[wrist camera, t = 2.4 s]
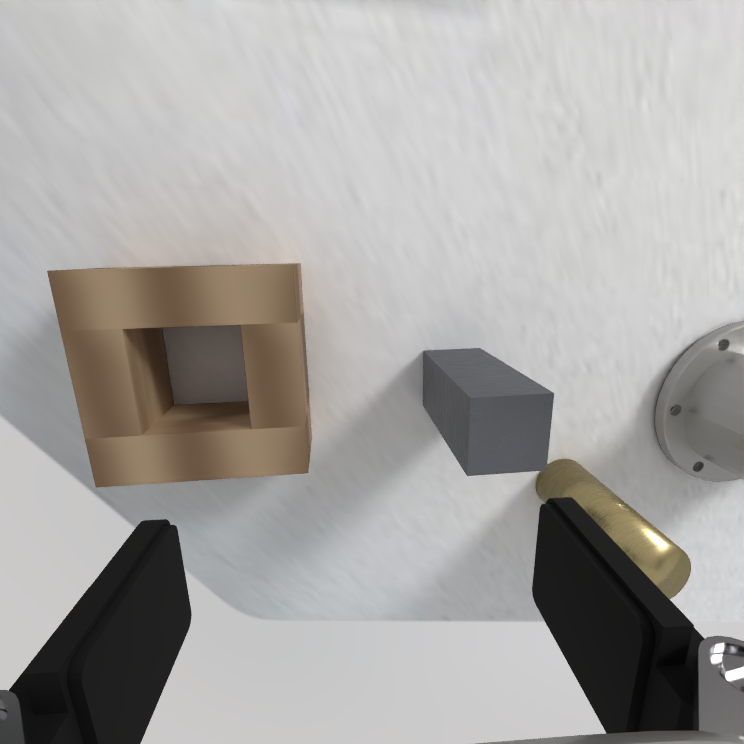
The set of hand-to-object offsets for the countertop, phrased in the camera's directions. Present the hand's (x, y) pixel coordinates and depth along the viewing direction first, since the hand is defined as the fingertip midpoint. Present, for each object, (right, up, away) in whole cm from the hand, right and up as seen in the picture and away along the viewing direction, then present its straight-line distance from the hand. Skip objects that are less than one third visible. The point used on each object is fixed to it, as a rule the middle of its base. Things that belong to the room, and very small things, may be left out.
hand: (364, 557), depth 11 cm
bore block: (-10, +6, +17) cm, 20 cm away
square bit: (+6, +4, +19) cm, 20 cm away
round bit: (+15, -4, +22) cm, 27 cm away
